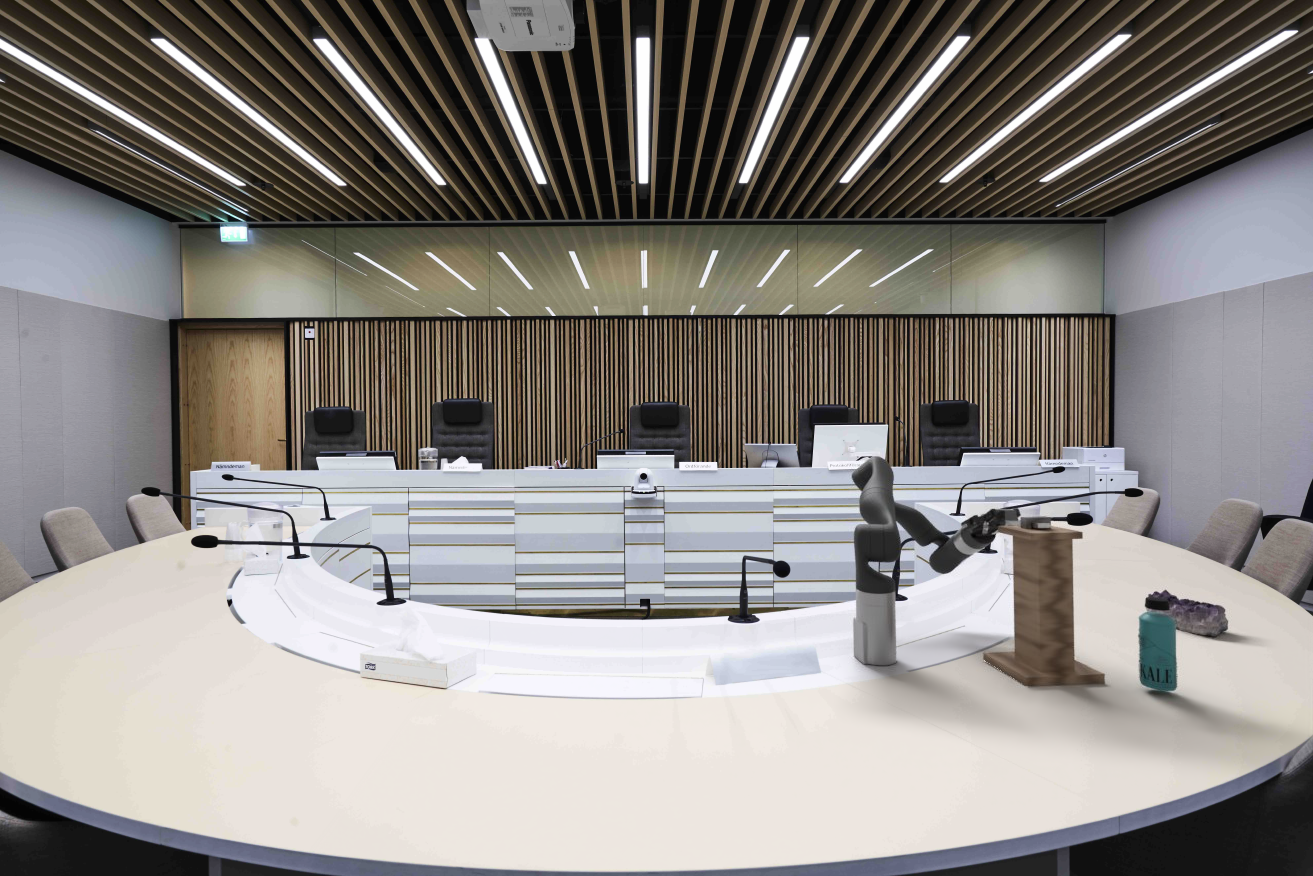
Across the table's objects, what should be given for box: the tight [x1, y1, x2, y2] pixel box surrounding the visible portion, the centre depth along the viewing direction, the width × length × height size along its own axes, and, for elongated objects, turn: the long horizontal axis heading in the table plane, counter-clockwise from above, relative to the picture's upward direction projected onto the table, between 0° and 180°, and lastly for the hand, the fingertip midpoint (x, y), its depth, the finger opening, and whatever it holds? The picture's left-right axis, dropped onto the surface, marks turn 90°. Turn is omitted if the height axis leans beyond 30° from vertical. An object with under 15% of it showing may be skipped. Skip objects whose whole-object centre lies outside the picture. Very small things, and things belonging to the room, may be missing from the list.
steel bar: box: [989, 508, 1052, 528], centre depth 153 cm, size 3×18×4 cm, turn 4°
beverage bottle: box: [1137, 596, 1179, 692], centre depth 133 cm, size 6×7×20 cm
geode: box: [1145, 589, 1229, 638], centre depth 178 cm, size 20×12×10 cm, turn 17°
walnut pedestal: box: [982, 515, 1106, 687], centre depth 146 cm, size 18×16×36 cm
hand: (1006, 511), depth 158 cm, fingers open, 5 cm apart
